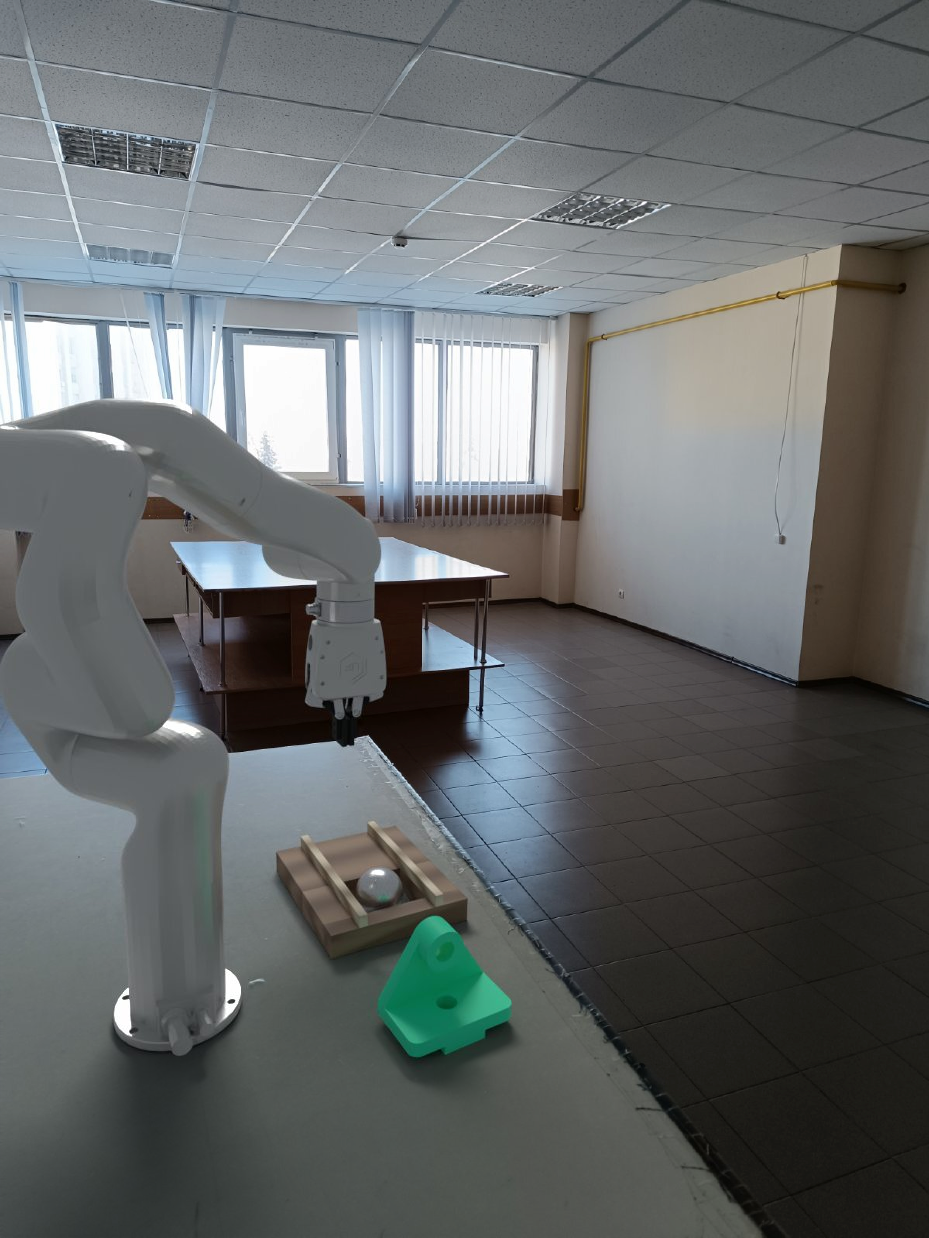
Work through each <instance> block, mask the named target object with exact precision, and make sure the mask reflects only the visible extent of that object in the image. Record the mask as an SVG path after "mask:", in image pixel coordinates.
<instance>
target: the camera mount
mask: <svg viewBox="0 0 929 1238" xmlns="http://www.w3.org/2000/svg"><path fill="white" fill-rule="evenodd" d="M409 938H410V939H409V940H408V942H407V943H406V946H405V947H404V949H403V952H402V953H401V955H400V957H399V959H398V961H397V962H396V965H395V967H394V968H393V970H392V971H391V972H392V973H391V975H390V976H389V978H388V979H387V982H386V984H385V986H384V987H383V989H382V990H381V993H380V995H379V997H378V998H377V1014H378V1015H379V1016H380V1018H381V1020H382V1021H383V1022H384V1023H385V1025H386V1026H387V1028H388V1029H389V1031H390V1032H391V1033H392V1034H393V1036H394V1037H395V1039H396V1040H397V1041H398V1043H400V1045H401V1046H402V1048H403V1049H404V1050H405V1052H406V1053H407V1055H408V1056H410V1057H413V1058H422V1057H424V1056H426V1055H429V1054H431V1053H434V1052H436V1051H439V1050H441V1052H442V1053H443V1054H444V1055H445V1056H446V1055H447V1054H450V1053H453V1052H455V1051H457V1050H459V1049H460V1050H461V1049H462V1048H464V1047H468V1046H469V1045H472V1044H474V1043H475V1042H479V1041H481V1040H484V1039H486V1030H489V1029H491V1028H493V1027H494V1028H495V1026H498V1025H501V1024H503V1023H506V1022H508V1021H509V1020H510V1019H511V1018H512V1000H511V998H510V997H509V996H508V995H507V994H506V993H505V992H504V991H503V990H502V989H501V988H500V986H498V985H497V983H495V982H494V981H493V980H492V979H491V978H490V977H489V976H488V975H487V974H486V973H485V972H484V971H483V969H482V968H481V966H480V965H479V964H478V962H477V961H476V960H475V958H474V956H472V955H473V954H472V953H471V952H470V951H469V949H468V948H467V947H466V945H465V944H464V939H463V937H462V936H461V934H459V932H458V931H457V930H455V928H453V927H452V925H449V924H448V923H447V922H446V921H445V920H444V919H443V918H441V917H439V916H431V917H428V918H426V919H424V920H423V921H422V922H421V923H420V924H419V925H418V926H417V927H416V929H415V930H414V932H413V934H412V936H410V937H409ZM483 1038H484V1039H483Z"/></svg>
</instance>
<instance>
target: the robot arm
mask: <svg viewBox="0 0 929 1238" xmlns="http://www.w3.org/2000/svg"><path fill="white" fill-rule="evenodd" d="M149 492H150V493H154V494H157V495H159V496H161V497H163V498H165V500H167V501H170V502H171V503H173V504H174V505H176V506H178V507H179V508H180V509H183V510H184V511H186V512H187V513H189V514H191V516H193V517H195V518H197V519H199V520H200V521H201V522H203V523H205V524H206V525H208V526H210V527H211V528H212V529H214V530H216V531H217V532H218V533H221V534H222V535H224V536H227V537H229V538H233V539H237V540H239V541H243V542H246V543H248V544H249V543H250V544H254V545H258V546H261V554H262V557H263V560H264V562H265V563H266V565H267V567H269V569H270V570H271V571H273V573H275V574H276V575H278V576H279V575H280V576H282V577H283V578H289V579H295V580H301V581H302V580H303V581H315V582H316V597H314V602H312V603H308V604H306V605H305V611H306V615H309V616H310V615H312V616H315V618H316V619H313V620H312V621H311V625H310V629H309V635H308V641H307V648H306V655H305V657H306V658H305V668H304V669H305V671H304V673H305V674H304V676H305V679H304V680H305V688H306V695H305V699H304V702H305V703H306V704H307V705H308V706H309V707H314V708H324V709H325V710H327V712H329V713H330V714H331V717H332V719H331V720H332V721H331V722H332V727H331V728H332V730H331V731H332V732H331V733H332V738H333V740H334V741H335V742H336V743H337V744H339V746H341V748H347V746H350V747H354V746H355V738H357V737H358V717H360V716H361V715H362V711H363V710H364V708H365V707H366V706H367V705H368V704H369V703H370V702H373V701H377V700H379V699H381V698H383V696H384V691H385V689H386V688H387V687H386V686H387V662H386V650H385V643H384V641H385V640H384V635H383V629H382V624H381V623H382V622H381V621H380V620H379V619H377V618H375V586H376V585H375V579H376V577H375V574H376V573H377V571H378V569H379V568H380V564H381V559H382V546H381V545H382V544H381V541H380V538H379V536H378V534H377V531H376V527H375V524H374V522H373V521H372V520H371V519H369V518H367V517H364V516H363V515H362V513H360V512H359V511H358V510H357V509H355V508H354V507H353V506H352V505H350V504H349V503H347V502H346V501H345V500H343V499H341V498H339V497H337V496H335V495H333V494H331V493H329V492H327V491H324V490H322V489H320V488H318V487H316V486H313V485H311V484H308V483H306V482H304V481H301V480H299V479H297V478H295V477H293V476H291V475H288V474H286V473H283V472H280V471H279V470H275V469H273V468H272V467H269V466H267V465H266V464H264V463H263V462H262V461H261V460H259V459H258V457H256V456H254V455H253V454H252V453H251V452H249V451H248V449H246V448H245V447H244V446H242V444H240V443H239V442H237V441H236V440H235V439H234V438H233V437H231V436H230V435H229V434H227V433H226V431H224V430H223V429H221V428H220V427H219V426H218V425H216V423H214V422H213V421H211V419H210V418H208V417H207V416H206V415H204V414H203V413H201V411H199V410H198V409H196V408H195V407H193V406H191V405H190V404H187V403H185V402H182V401H179V400H175V399H168V398H114V397H113V398H111V397H110V398H108V397H107V398H100V399H94V400H89V401H83V402H81V403H76V404H73V405H72V404H71V405H69V406H64V407H62V408H59V409H58V408H57V409H55V410H51V411H46V412H43V413H39V414H36V415H32V416H29V417H25V418H21V419H17V420H14V421H9V422H4V423H2V424H0V530H4V531H12V532H23V533H32V534H31V537H30V539H29V542H28V545H27V548H26V551H25V554H24V557H23V560H22V563H21V567H20V569H19V573H18V576H17V580H16V584H15V585H16V586H15V595H14V596H15V598H14V599H15V606H16V607H15V608H16V612H17V616H18V619H19V621H20V623H21V626H22V627H23V629H24V632H23V633H21V634H20V635H18V636H17V637H16V638H15V639H14V640H13V641H12V642H11V643H10V645H9V646H8V647H7V649H6V650H5V652H4V654H3V657H2V659H1V662H0V698H1V701H2V704H3V706H4V708H5V711H6V713H7V714H8V716H9V717H10V719H11V720H12V721H13V723H14V725H15V726H16V728H17V729H18V731H19V732H20V733H21V735H22V736H23V737H24V739H25V740H26V742H27V743H28V745H29V746H30V747H31V748H32V749H33V751H34V753H35V754H36V755H37V757H38V758H39V759H40V761H41V763H42V764H43V765H44V766H45V768H46V769H47V770H48V772H49V773H50V775H51V776H52V777H53V778H54V779H55V781H56V782H57V783H58V784H59V785H60V786H61V787H63V788H64V789H65V790H66V791H67V792H69V793H71V794H73V795H74V796H77V797H80V798H81V799H85V800H88V801H91V802H95V803H99V804H102V805H107V806H108V807H109V806H110V807H114V808H118V809H119V810H123V811H127V812H128V813H131V814H132V815H134V817H135V826H134V828H133V831H132V832H131V834H129V837H128V839H127V840H126V843H125V844H124V847H123V849H122V853H121V857H120V883H121V889H122V891H121V892H122V893H121V894H122V905H123V906H122V907H123V922H124V924H123V925H124V938H125V941H124V942H125V952H126V954H125V956H126V970H127V984H128V987H127V988H126V989H125V990H124V991H123V992H122V993H121V995H120V996H119V997H118V999H117V1000H116V1002H115V1005H114V1009H113V1013H112V1017H113V1027H114V1030H115V1032H116V1034H117V1036H118V1037H119V1038H120V1039H121V1040H122V1041H123V1042H125V1043H126V1044H128V1045H129V1046H131V1047H134V1048H136V1049H140V1050H145V1051H149V1052H168V1051H169V1052H170V1051H171V1052H172V1053H173V1055H175V1056H178V1057H181V1056H184V1055H186V1054H188V1053H189V1052H190V1051H191V1050H192V1048H193V1047H194V1046H195V1045H199V1044H201V1043H203V1042H205V1041H207V1040H209V1039H211V1038H212V1037H214V1036H216V1035H218V1034H219V1033H220V1032H222V1031H223V1030H224V1029H225V1028H226V1027H228V1026H229V1025H230V1024H231V1022H232V1021H233V1020H234V1019H235V1018H236V1016H237V1015H238V1013H239V1011H240V1008H241V1006H242V1001H243V996H242V991H243V990H242V986H241V982H240V980H239V979H238V978H237V975H235V974H234V973H233V972H231V971H230V970H228V969H227V967H226V966H227V965H226V964H227V963H226V943H225V942H226V941H225V940H226V939H225V938H226V937H225V915H224V914H225V913H224V911H225V910H224V909H225V908H224V907H225V906H224V885H223V884H224V883H223V878H224V877H223V859H222V857H223V856H222V825H223V822H222V821H223V811H224V805H225V799H226V793H227V787H228V782H229V776H230V757H229V755H230V754H229V752H228V749H227V747H226V745H225V743H224V742H223V740H222V739H221V738H220V737H219V736H218V735H217V734H216V733H215V732H213V731H212V730H210V729H208V728H207V727H206V726H202V725H201V724H198V723H196V722H192V721H189V720H186V719H182V718H181V719H180V718H175V717H172V715H173V712H174V709H175V704H176V689H175V685H174V680H173V678H172V677H173V676H172V674H171V672H170V670H169V668H168V666H167V663H166V662H165V660H164V657H163V656H162V654H161V652H160V650H159V648H158V647H157V645H156V643H155V640H154V639H153V637H152V635H151V633H150V631H149V629H148V627H147V625H146V623H145V622H144V620H143V618H142V615H141V614H140V612H139V610H138V608H137V606H136V604H135V601H134V599H133V596H132V595H131V592H130V590H129V585H128V582H127V581H128V580H127V565H128V558H129V555H130V551H131V546H132V544H133V540H134V537H135V535H136V532H137V529H138V527H139V525H140V523H141V520H142V517H143V515H144V512H145V509H146V506H147V502H148V494H149ZM345 699H346V702H345V706H344V702H343V700H345ZM344 708H345V709H344Z"/></svg>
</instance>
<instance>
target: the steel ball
mask: <svg viewBox="0 0 929 1238" xmlns="http://www.w3.org/2000/svg"><path fill="white" fill-rule="evenodd" d="M403 896H404V892H403V885H402V882H401V880H400V878H399V877H398V875H397V874H396V873H395V872H394V871H392V870H390V869H388V868H384V867H376V868H372V869H370V870H368V871H367V872H365V873H364V874H363V875H362V876H361V878H360V879H359V881H358V883H357V886H356V900H357V901H358V902H359V904H360V905H361V906H362V908H363V909H364V910H365V912H366V913H369V912H373V911H377V910H381V909H384V908H388V907H392V906H396V905H399V904H402V900H403Z"/></svg>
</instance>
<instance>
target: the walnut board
mask: <svg viewBox="0 0 929 1238" xmlns="http://www.w3.org/2000/svg"><path fill="white" fill-rule="evenodd" d="M366 823H367V831H365V832H361V833H355V834H352V835H351V834H350V835H346V836H342V837H337V838H333V839H328V840H324V841H318V842H315V843H314V841H313V840H312V838H311V837H310V836H309V834H305V835H301V836H300V846H295V847H292V848H286V849H282V850H277V851H276V852H275V854H276V855H275V858H276V873H277V874H278V876H279V877H280V879H281V881H282V883H283V884H284V886H285V887H286V889H287V891H289V893H290V895H291V897H292V899H293V900H294V902H295V903H296V905H297V906H298V908H299V910H300V912H301V913H302V915H303V917H304V918H305V919H306V921H307V923H308V925H310V927H311V929H312V931H313V932H314V935H316V937H317V939H318V940H319V942H320V943H321V945H322V947H323V949H324V950H325V952H326V953H327V954H328V957H329V958H330V959H331V960H333V959H336V958H340V957H344V956H347V955H348V956H349V955H351V954H354V953H357V952H361V951H364V950H368V949H371V948H375V947H378V946H381V945H385V944H388V943H392V942H395V941H398V940H399V941H400V940H402V939H405V938H406V939H407V938H411V936H412V934H413V932H414V930H415V929H416V927H417V926H418V925H419V924H420V923H421V922H422V921H423V920H424V919H426V918H428V917H431V916H439V917H441V918H443V919H444V920H445V921H446V922H447V923H448V924H449V925H450V926H452V925H454V924H457V923H461V922H464V921H467V920H468V903H469V902H468V901H469V900H468V899H469V898H468V897H467V896H466V895H465V894H464V893H463V892H462V891H461V890H460V889H459V888H458V887H457V886H456V885H455V884H454V883H453V882H452V881H451V880H450V879H449V878H448V877H447V876H446V875H445V874H444V873H443V872H442V870H440V869H439V868H438V867H437V866H436V865H435V864H434V863H433V862H432V861H431V860H430V859H429V858H428V857H427V856H426V855H425V854H424V853H423V852H422V851H421V850H420V849H419V848H418V847H417V845H415V844H414V843H413V842H412V841H411V840H410V839H409V838H408V837H407V836H406V834H404V832H403V831H402V830H400V829H399V828H398V826H396V825H394V826H389V827H383V828H381V827H380V826H379V825H378V824H377V823H376V822H375V821H374V820H373V821H368V822H366ZM376 867H384V868H388V869H390V870H392V871H394V872H395V873H396V874H397V875H398V877H399V878H400V880H401V882H402V885H403V895H405V896H406V897H407V898H408V899H409V901H407V902H404V903H400V904H399V905H396V906H392V907H388V908H384V909H381V910H377V911H373V912H369V913H366V912H365V910H364V909H363V908H362V906H361V905H360V904H359V902H358V901H357V900H356V886H357V883H358V881H359V879H360V878H361V876H362V875H363V874H364V873H365V872H367V871H368V870H370V869H372V868H376Z"/></svg>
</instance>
